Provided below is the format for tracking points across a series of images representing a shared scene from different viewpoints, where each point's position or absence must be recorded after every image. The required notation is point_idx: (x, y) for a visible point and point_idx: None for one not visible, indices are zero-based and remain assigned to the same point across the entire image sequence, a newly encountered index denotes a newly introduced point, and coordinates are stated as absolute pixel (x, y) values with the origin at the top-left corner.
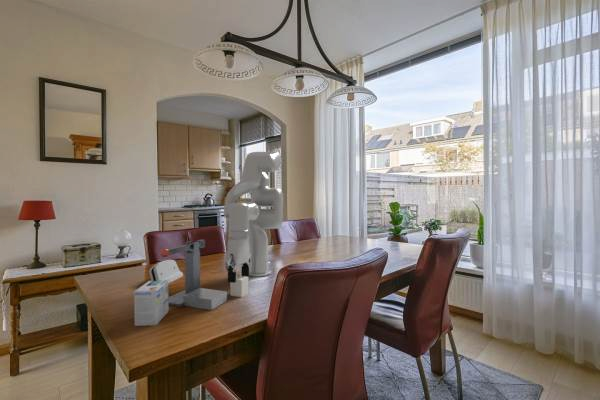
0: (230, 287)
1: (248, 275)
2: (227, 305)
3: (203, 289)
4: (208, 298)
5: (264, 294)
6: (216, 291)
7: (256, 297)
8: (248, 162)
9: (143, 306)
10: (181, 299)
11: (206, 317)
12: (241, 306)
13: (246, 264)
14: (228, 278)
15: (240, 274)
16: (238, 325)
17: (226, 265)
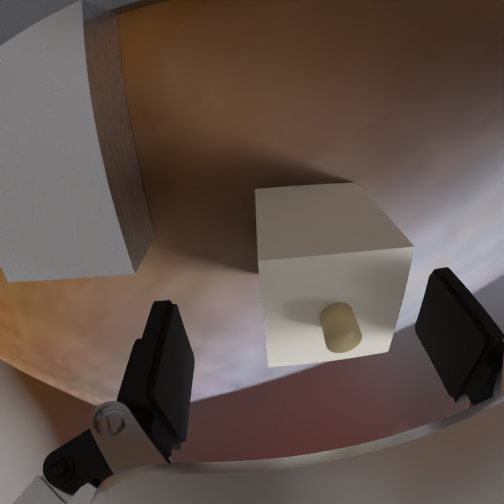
0: (256, 214)
1: (420, 335)
2: (113, 280)
3: (63, 62)
4: (1, 254)
5: None
6: (85, 203)
7: None
8: None
9: None
10: (5, 21)
11: (3, 280)
12: None
13: (479, 401)
14: (148, 331)
15: (359, 341)
16: (58, 381)
17: (38, 488)
